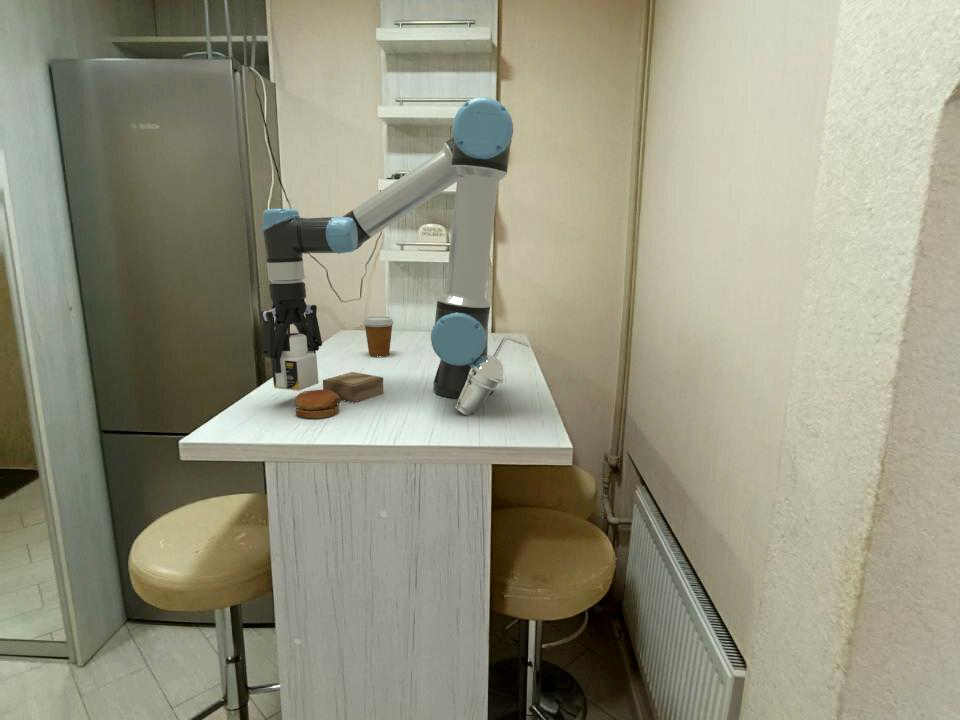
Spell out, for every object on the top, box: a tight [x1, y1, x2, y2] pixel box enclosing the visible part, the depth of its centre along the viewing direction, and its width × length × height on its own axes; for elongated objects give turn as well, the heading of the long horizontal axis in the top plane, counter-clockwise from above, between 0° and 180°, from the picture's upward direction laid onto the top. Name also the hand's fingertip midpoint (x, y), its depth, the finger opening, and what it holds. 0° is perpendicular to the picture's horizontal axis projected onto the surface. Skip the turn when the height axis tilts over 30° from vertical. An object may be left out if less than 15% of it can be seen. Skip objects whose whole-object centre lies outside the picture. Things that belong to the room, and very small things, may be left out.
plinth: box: [322, 371, 384, 404], centre depth 134 cm, size 10×10×4 cm
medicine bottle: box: [270, 332, 319, 392], centre depth 126 cm, size 7×7×12 cm
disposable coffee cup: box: [362, 315, 395, 358], centre depth 178 cm, size 10×10×12 cm
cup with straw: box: [454, 335, 530, 417], centre depth 121 cm, size 8×9×20 cm
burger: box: [294, 389, 341, 420], centre depth 121 cm, size 10×9×5 cm
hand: (296, 382), depth 127 cm, fingers closed on medicine bottle, 8 cm apart
